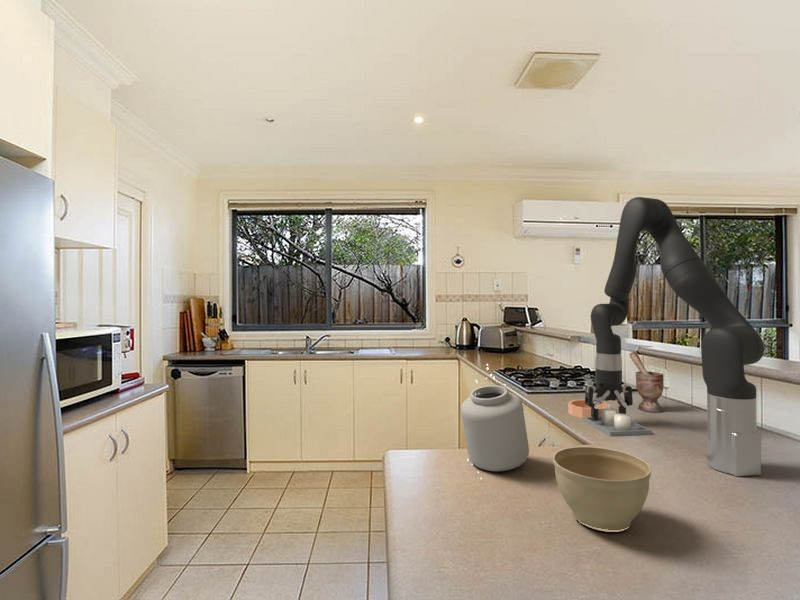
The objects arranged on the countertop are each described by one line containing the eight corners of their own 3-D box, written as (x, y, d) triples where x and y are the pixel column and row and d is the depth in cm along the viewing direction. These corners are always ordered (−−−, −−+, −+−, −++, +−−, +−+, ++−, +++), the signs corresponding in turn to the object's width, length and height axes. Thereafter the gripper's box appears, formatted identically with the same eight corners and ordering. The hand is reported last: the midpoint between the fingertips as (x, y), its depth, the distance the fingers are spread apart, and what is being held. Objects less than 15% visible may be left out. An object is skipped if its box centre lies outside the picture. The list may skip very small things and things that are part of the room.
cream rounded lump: (620, 425, 133) (620, 410, 133) (606, 426, 132) (606, 411, 132) (611, 421, 137) (611, 407, 137) (598, 422, 137) (598, 407, 137)
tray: (651, 437, 124) (651, 430, 124) (610, 438, 123) (610, 431, 123) (620, 422, 139) (620, 415, 139) (583, 423, 138) (583, 417, 138)
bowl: (618, 420, 141) (618, 408, 141) (580, 422, 140) (580, 409, 140) (597, 410, 154) (597, 398, 154) (562, 411, 153) (561, 400, 153)
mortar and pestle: (623, 408, 156) (622, 352, 156) (631, 403, 162) (631, 350, 162) (659, 414, 148) (658, 355, 147) (667, 409, 154) (666, 353, 153)
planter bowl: (569, 492, 91) (569, 440, 91) (658, 516, 80) (658, 458, 80) (540, 524, 78) (539, 464, 78) (641, 557, 68) (640, 488, 68)
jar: (492, 487, 93) (491, 371, 93) (443, 467, 105) (442, 364, 105) (541, 464, 106) (540, 362, 105) (492, 448, 117) (491, 356, 117)
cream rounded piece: (634, 432, 126) (634, 417, 126) (619, 433, 125) (619, 417, 125) (625, 428, 130) (625, 413, 130) (611, 428, 130) (611, 413, 130)
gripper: (592, 370, 130) (593, 423, 131) (637, 369, 132) (637, 422, 132) (580, 366, 138) (580, 416, 138) (623, 365, 139) (623, 415, 139)
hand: (608, 419), depth 135 cm, fingers open, 8 cm apart
